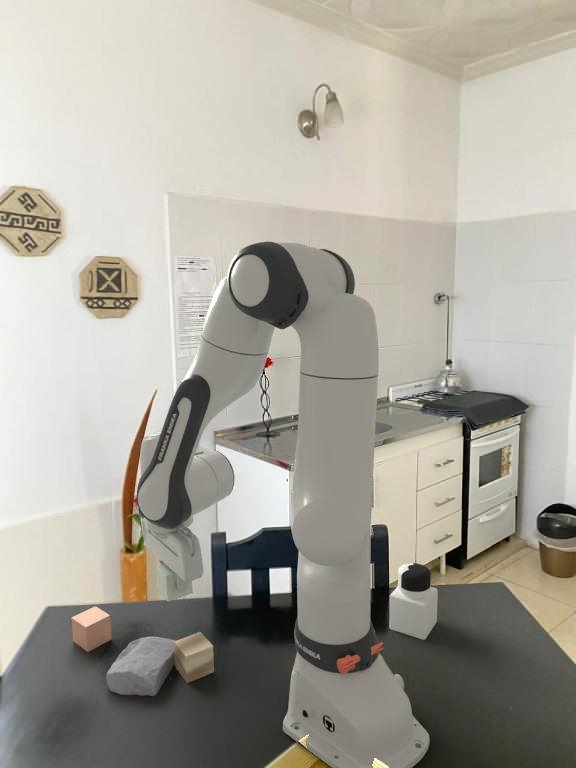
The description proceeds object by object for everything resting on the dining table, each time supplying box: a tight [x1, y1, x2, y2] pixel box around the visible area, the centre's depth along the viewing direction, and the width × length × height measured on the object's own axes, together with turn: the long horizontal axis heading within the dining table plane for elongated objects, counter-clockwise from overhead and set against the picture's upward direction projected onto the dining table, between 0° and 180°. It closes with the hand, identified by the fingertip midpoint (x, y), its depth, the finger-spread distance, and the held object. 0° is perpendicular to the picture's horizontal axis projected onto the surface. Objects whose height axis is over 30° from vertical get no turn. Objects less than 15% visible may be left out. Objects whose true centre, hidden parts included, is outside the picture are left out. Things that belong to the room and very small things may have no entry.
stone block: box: [106, 635, 176, 697], centre depth 99 cm, size 12×5×10 cm
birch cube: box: [174, 631, 215, 684], centre depth 99 cm, size 5×5×5 cm
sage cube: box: [155, 564, 194, 603], centre depth 109 cm, size 5×5×5 cm
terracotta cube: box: [70, 606, 113, 653], centre depth 108 cm, size 5×5×5 cm
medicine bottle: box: [389, 562, 439, 641], centre depth 110 cm, size 7×7×12 cm
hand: (174, 583), depth 110 cm, fingers closed on sage cube, 5 cm apart
